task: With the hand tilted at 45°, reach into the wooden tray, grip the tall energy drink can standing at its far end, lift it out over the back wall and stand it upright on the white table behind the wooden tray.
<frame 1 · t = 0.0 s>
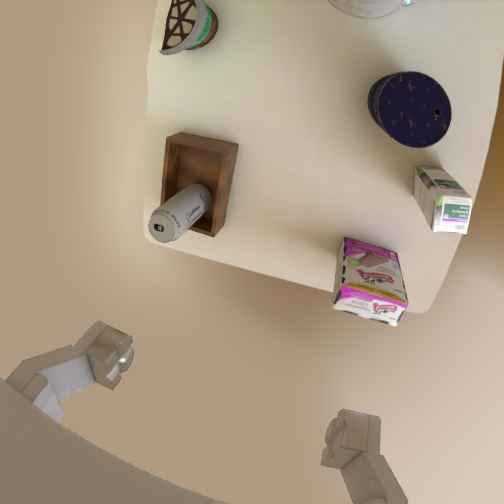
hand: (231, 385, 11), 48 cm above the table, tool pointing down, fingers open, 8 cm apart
food container: (208, 27, 45), on the table
blue barrel: (395, 103, 44), on the table
wooden tray: (202, 179, 60), on the table
energy drink can: (199, 196, 62), resting on wooden tray
candy bar box: (367, 253, 59), on the table
syrup box: (428, 183, 49), on the table
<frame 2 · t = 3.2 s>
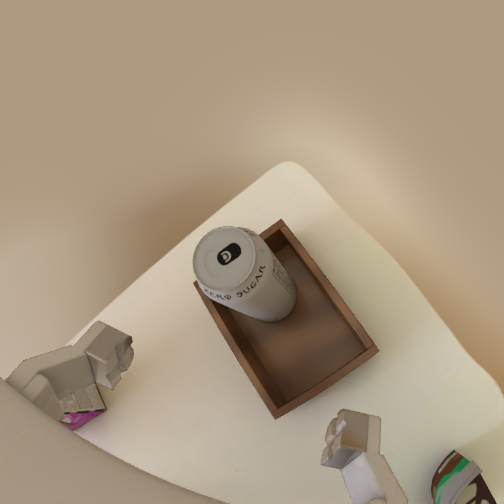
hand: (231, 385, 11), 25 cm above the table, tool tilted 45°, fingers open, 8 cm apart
food container: (447, 490, 23), on the table
wooden tray: (289, 322, 35), on the table
energy drink can: (272, 297, 37), resting on wooden tray
candy bar box: (82, 409, 39), on the table
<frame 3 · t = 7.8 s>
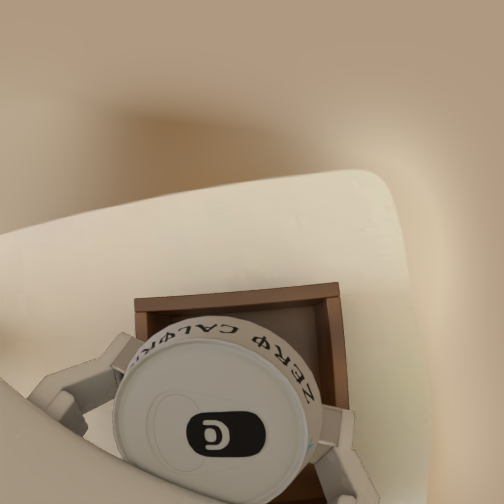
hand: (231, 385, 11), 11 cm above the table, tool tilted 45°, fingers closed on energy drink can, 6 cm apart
wooden tray: (250, 415, 21), on the table
energy drink can: (246, 369, 21), resting on wooden tray, touching gripper
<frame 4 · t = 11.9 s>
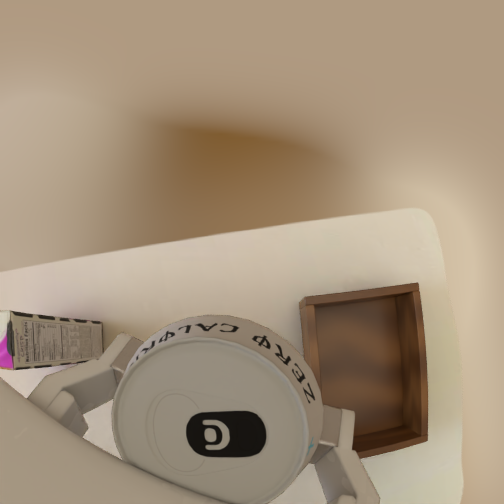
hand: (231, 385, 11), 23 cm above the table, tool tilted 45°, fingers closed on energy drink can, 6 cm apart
wooden tray: (358, 370, 32), on the table
energy drink can: (246, 368, 21), point 12 cm above the table, touching gripper
candy bar box: (69, 341, 34), on the table
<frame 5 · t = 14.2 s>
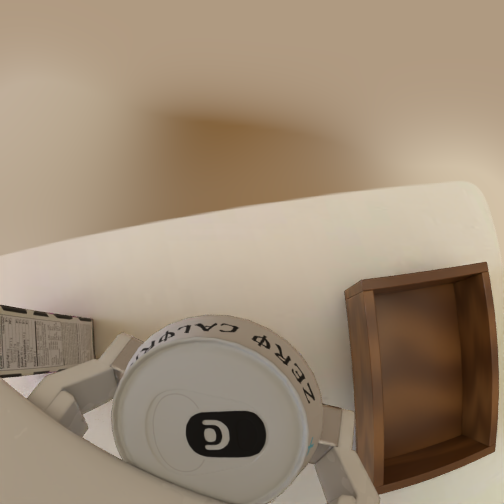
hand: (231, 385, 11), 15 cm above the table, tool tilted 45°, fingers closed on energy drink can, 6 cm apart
wooden tray: (414, 373, 24), on the table
energy drink can: (246, 368, 21), point 4 cm above the table, touching gripper
candy bar box: (54, 343, 27), on the table
when the fingers open (10 cm above the table, at t = 16.1 s): energy drink can stays where it is, on the table.
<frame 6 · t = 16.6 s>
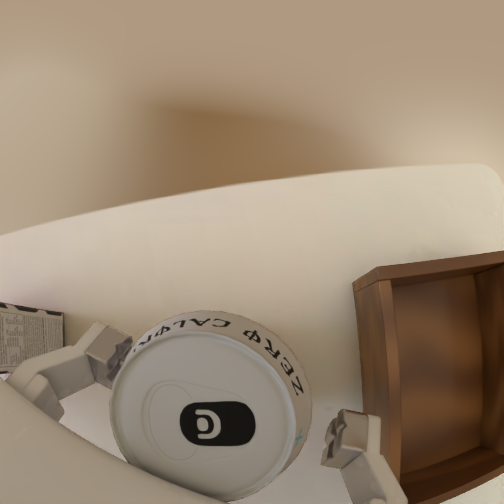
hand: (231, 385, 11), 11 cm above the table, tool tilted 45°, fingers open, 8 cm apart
wooden tray: (431, 378, 20), on the table
energy drink can: (243, 365, 22), on the table
candy bar box: (23, 340, 23), on the table
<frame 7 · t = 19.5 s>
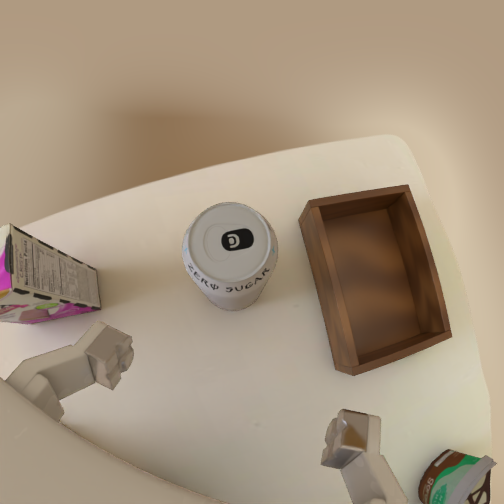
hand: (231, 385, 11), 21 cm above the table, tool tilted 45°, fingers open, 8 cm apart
food container: (429, 486, 27), on the table
wooden tray: (366, 281, 34), on the table
energy drink can: (232, 282, 33), on the table
candy bar box: (61, 299, 32), on the table
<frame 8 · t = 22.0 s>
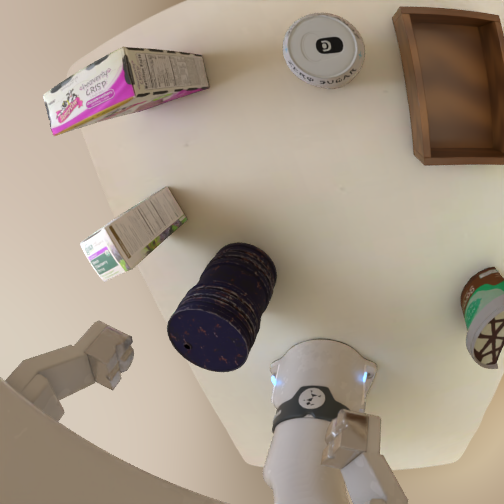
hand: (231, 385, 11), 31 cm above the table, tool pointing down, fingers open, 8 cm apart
food container: (471, 294, 39), on the table
blue barrel: (244, 271, 47), on the table
wooden tray: (451, 85, 27), on the table
energy drink can: (329, 63, 31), on the table
candy bar box: (170, 84, 36), on the table
syrup box: (164, 209, 46), on the table
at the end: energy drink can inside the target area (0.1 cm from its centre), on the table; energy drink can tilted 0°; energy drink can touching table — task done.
